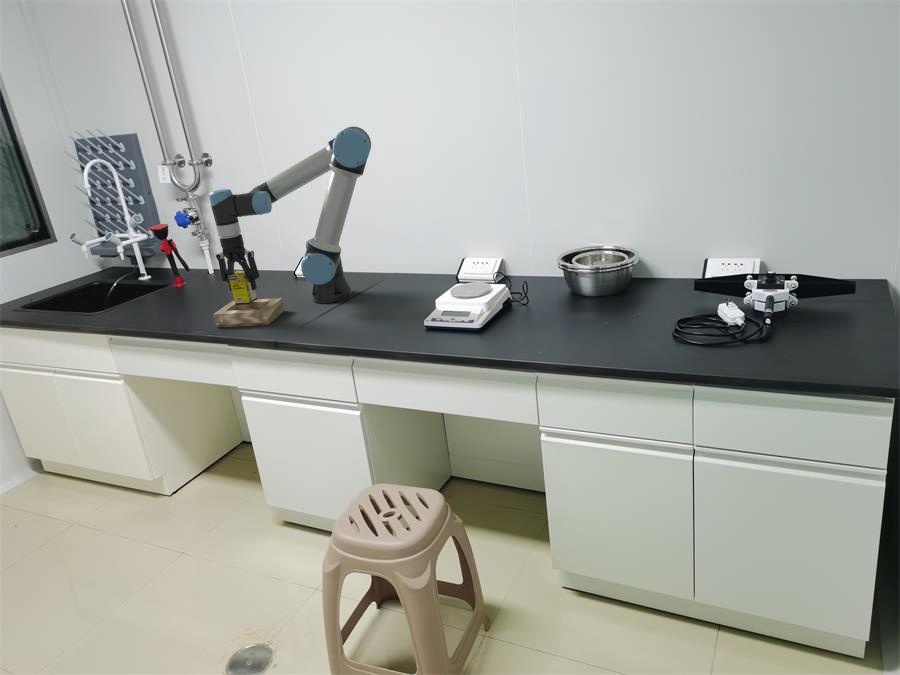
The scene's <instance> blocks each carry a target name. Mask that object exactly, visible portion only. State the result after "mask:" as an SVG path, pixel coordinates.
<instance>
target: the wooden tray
mask: <svg viewBox="0 0 900 675" xmlns="http://www.w3.org/2000/svg"><path fill="white" fill-rule="evenodd" d="M285 311H286V310H285V306H284V301H283V298H282V297H277V298H257V300H255V301H254V302H252V303H251V304H248V305H235V301H234V300H231V301H230V302H228V303H227V304H226V305H224V306H223V307H222V308H221V309H218V311H216V312H214V313H213V318H214V322H215V326H216V328H231V327H233V328H234V327H253V326H255V327H257V326H269V325H270V324H271V323H273V322H274V321H275V320H276V319H277V318H278V317H279V316H281V315H282V314H283V313H284V312H285Z"/></svg>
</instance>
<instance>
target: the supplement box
mask: <svg viewBox="0 0 900 675" xmlns="http://www.w3.org/2000/svg"><path fill="white" fill-rule="evenodd" d="M228 277H229V281H230V285H231V289H232V291H231V292H232V297H233V301H235V305H248V304H251V303H252V302H254V301H255V300H257V299H258V298H257V297H258V296H257V297H256V298H255V299H254V300H251V295H250V291H249V287H248V283H247V282H248V281H249V280H248V278H247V276H246V274H245V272H244V270H237V271H234V273H233V274H232V275H230V276H228Z"/></svg>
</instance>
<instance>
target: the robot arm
mask: <svg viewBox="0 0 900 675" xmlns="http://www.w3.org/2000/svg"><path fill="white" fill-rule="evenodd" d="M371 150H372V141H371V137H370V135H369V134H368V132H367V131H366V130H364V129H363V128H361V127H358V126H348V127H345V128H344V129H343V130H341V131H339V132H338V133H337V135H336V136H335V137H334V138H332V139H330V140H329V141H328V142H327V145H326V146H325V147H323V148H321V149H320V150H318V151H316V152H314V153H313V154H311V155H309V156H308V157H305V158H304V159H303V160H301V161H299V162H297V163H295V164H294V165H292V166H290V167H288V168H287V169H285V170H283V171H282V172H280V173H278V174H276V175H275V176H273V177H272V178H270V179H268V180H267V181H264V182H263V183H261V184H259V185H256V186H255V187H253V189H252V190H250V191H249V192H246V193H241V194H240V193H239V194H235V193H234V194H233V192H232V190H231V189H229V188H227V189H225V188H222V189H217V190H213V191H211V192H210V193H209V194H208V196H209V197H208V198H209V201H210V208H211V211H212V215H213V218H214V221H215V227H216V230H217V235H218V237H219V242H220V247H221V249H222V252H219V253H217V254H216V255H215V257H216V259H217V262H218V267H219V271H220V277H221V280H222V282H227V284H228V288H229V291H230V292H232V289H231V285H230V281H229V277H228V276H230V275H232V274H233V273H235V263H238V264H239V265H240V266H241V268H242V271H244V272H245V274H246V276H247V278H248V280H249V281H248V282H247V283H248V287H249V291H250V295H251V300H254V299H255V298H256V297H258V296H257V292H256V290H257V283H256V280H257V279H259V278H260V273H259V270H258V267H257V262H256V260H255V252H254V250H247V249H246V248H245V242H244V239H243V235H242V234H241V233H242V231H241V226H240V223H239V218H241V217H242V218H243V217H250V216H259V215H260V216H262V215H266V214H270V213H271V212H272V208H273V204H275V203H276V202H277V201H279V200H281V199H283V198H284V197H286V196H287V195H289V194H291V193H293V192H295V191H297V190H299V189H301V187H304V186H306V185H307V184H309V183H311V182H312V181H314V180H316V179H317V178H319V177H322V176H323V175H324V174H326V173H328V172H330V171H331V173H330V177H329V181H328V183H327V184H328V185H327V189H326V193H325V195H324V201H323V203H322V208H321V211H320V215H319V219H318V223H317V227H316V230H315V234H314V236H313V237H312V238H310V239H308V240H306V242H305V249H306V250H305V253H304V257H303V259H302V261H301V264H300V265H301V266H300V267H301V268H300V269H301V270H300V271H301V274H302V275H303V277H304V278H305V279H306V281H308V282H309V283H311V284H312V289H311V297H312V302H314V303H316V304H332V303H336V302H341V301H343V300H346V299H349V298H350V297H351V296H352V294H353V291H352V287H351V285H350V283H349V281H348V280H347V278H346V276H345V274H344V269H343V268H344V267H343V263H342V257H341V254H342V248H341V246H340V240H341V236H342V234H343V230H344V227H345V223H346V219H347V215H348V212H349V208H350V206H351V200H352V199H353V198H352V197H353V194H354V190H355V187H356V184H357V181H358V180H357V179H358V178H359V177H361V176H363V175H364V173H365V169H366V166H367V165H366V164H367V160H368V158H369V156H370V152H371ZM245 256H246V257H245ZM225 258H226V259H225Z"/></svg>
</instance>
